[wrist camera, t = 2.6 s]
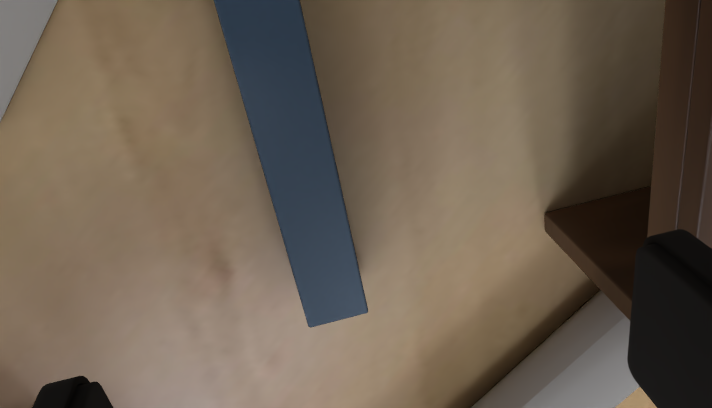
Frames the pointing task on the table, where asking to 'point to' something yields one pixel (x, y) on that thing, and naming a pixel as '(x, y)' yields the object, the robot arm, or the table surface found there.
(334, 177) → the stick
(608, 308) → the tube
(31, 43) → the bracket
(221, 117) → the table surface
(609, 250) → the shelf rack
